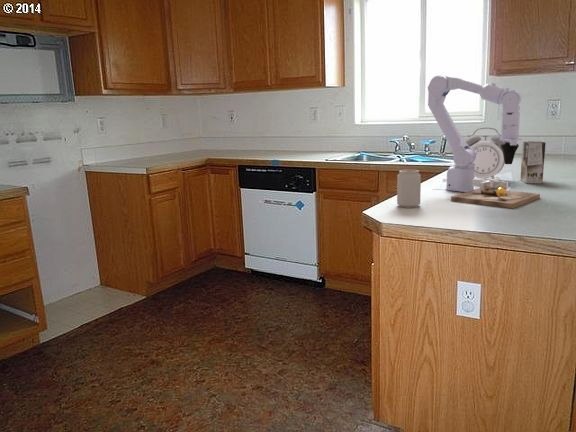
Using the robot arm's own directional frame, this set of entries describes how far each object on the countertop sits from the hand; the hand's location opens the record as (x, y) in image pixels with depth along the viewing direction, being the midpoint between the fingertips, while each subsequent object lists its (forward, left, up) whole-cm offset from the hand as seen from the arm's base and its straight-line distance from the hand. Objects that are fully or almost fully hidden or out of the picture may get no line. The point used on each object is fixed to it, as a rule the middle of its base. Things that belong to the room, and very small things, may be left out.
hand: (508, 164), depth 175 cm
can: (-15, -40, -11) cm, 44 cm away
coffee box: (-3, +28, -11) cm, 30 cm away
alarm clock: (-20, +22, -11) cm, 31 cm away
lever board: (+2, -14, -10) cm, 18 cm away
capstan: (+1, -13, -9) cm, 16 cm away
